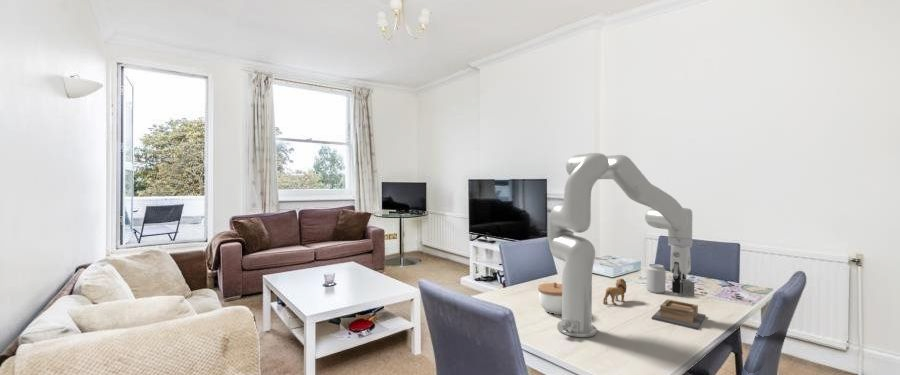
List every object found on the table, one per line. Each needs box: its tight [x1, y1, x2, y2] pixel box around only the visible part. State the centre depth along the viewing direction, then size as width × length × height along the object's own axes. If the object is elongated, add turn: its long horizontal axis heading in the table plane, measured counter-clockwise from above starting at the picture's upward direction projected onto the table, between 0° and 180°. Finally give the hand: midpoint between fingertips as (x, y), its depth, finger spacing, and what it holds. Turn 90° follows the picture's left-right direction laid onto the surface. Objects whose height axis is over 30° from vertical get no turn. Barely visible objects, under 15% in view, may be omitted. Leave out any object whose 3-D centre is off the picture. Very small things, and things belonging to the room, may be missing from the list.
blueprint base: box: [651, 299, 706, 330], centre depth 137 cm, size 16×14×5 cm
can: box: [645, 263, 666, 294], centre depth 169 cm, size 8×8×12 cm
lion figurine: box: [602, 277, 627, 306], centre depth 154 cm, size 15×5×9 cm, turn 131°
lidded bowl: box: [537, 281, 562, 315], centre depth 144 cm, size 13×13×11 cm
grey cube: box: [671, 278, 695, 298], centre depth 136 cm, size 5×5×5 cm
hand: (679, 290), depth 137 cm, fingers closed on grey cube, 5 cm apart
